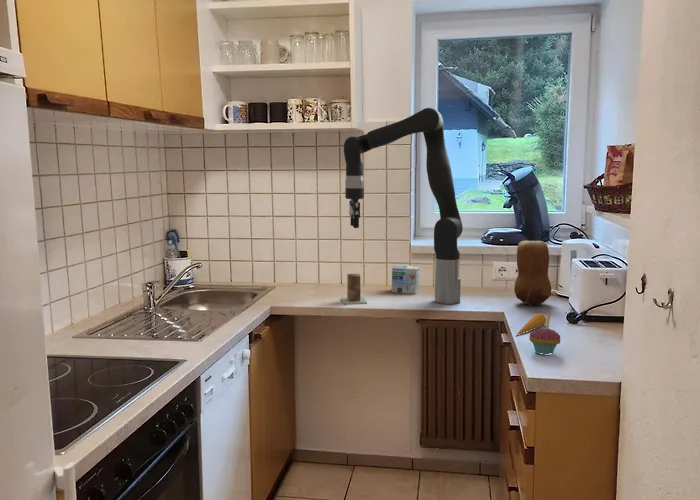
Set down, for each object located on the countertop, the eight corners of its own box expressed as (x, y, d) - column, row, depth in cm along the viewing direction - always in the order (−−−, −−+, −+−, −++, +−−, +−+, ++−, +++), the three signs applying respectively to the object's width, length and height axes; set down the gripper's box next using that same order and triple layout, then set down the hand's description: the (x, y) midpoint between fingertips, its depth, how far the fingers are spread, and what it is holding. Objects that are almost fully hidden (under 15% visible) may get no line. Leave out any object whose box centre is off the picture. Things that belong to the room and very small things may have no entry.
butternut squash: (530, 299, 237) (532, 237, 233) (557, 305, 225) (561, 240, 222) (505, 303, 229) (508, 239, 226) (533, 310, 218) (536, 243, 214)
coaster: (363, 298, 238) (363, 297, 238) (366, 303, 229) (366, 302, 229) (341, 299, 237) (341, 297, 236) (343, 304, 228) (343, 302, 228)
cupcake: (535, 346, 175) (537, 307, 174) (564, 352, 170) (566, 311, 168) (524, 353, 169) (525, 312, 167) (553, 359, 163) (555, 317, 162)
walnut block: (358, 298, 235) (358, 273, 234) (360, 300, 231) (360, 275, 229) (347, 298, 235) (347, 273, 233) (348, 301, 230) (348, 276, 229)
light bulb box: (391, 292, 249) (391, 267, 247) (394, 289, 255) (395, 264, 254) (416, 294, 246) (416, 268, 244) (419, 290, 252) (419, 266, 250)
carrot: (538, 325, 201) (533, 313, 201) (550, 323, 198) (545, 310, 198) (511, 344, 187) (506, 331, 187) (523, 342, 184) (518, 328, 184)
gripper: (366, 187, 233) (366, 228, 235) (361, 186, 247) (361, 225, 249) (347, 187, 232) (347, 228, 234) (343, 186, 246) (343, 225, 248)
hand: (354, 226), depth 242 cm, fingers open, 8 cm apart
